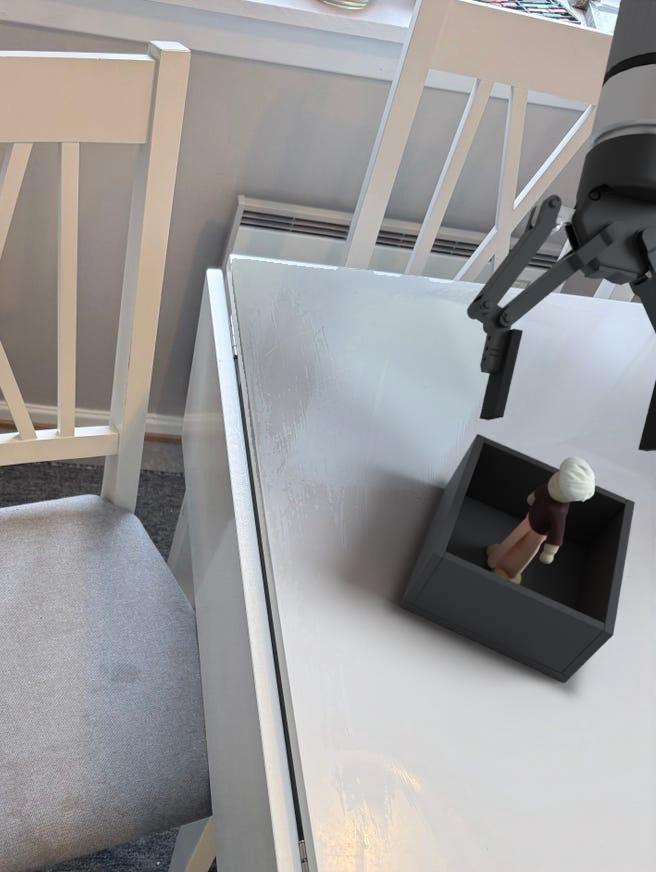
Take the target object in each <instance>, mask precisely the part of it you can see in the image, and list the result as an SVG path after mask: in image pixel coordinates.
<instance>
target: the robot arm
mask: <svg viewBox="0 0 656 872" xmlns="http://www.w3.org/2000/svg"><path fill="white" fill-rule="evenodd" d="M611 39H612V40H611V44H610V49H609V53H608V57H607V62H606V66H605V71H604V75H603V81H602V85H601V89H600V93H599V97H598V100H597V106H596V110H595V115H594V119H593V123H592V126H591V132H590V136H589V140H588V143H589V148H590V150H589V151H587V153H586V155H585V157H584V160H583V165H582V170H581V173H580V179H579V182H578V187H577V191H576V195H575V205H574V207H570V206H567V205H564V204H562V198H561V196H559V195H557V194H552V195H550V196H548V197H547V198H545V199H544V200H542V201H541V202H539V203H538V204H536V205H535V206H534V207H533V208H532V209H531V211H530V213H529V217H528V220H527V223H526V226H525V229H524V231H523V234H522V235H521V236H520V237H519V239H518V240H517V242H515V244H514V246H513V247H512V249H511V250H510V251H509V252H508V253H507V255H506V256H505V258H504V259H503V260H502V261H501V263H500V264H499V265H498V267H497V268H496V269H495V271H494V272H493V273H492V275H491V276H490V278H489V279H488V280H487V282H486V283H485V284H484V286H483V287H482V288H481V290H479V292H478V294H476V296H475V298H474V299H473V300H472V301H471V303H470V304H469V306H468V307H467V309H466V313H467V316H468V318H469V319H471V320H476V321H478V322H479V323H481V324H482V330H483V332H484V333H485V334H486V337H485V341H484V345H483V350H482V355H481V359H480V363H479V367H480V372H481V373H484V374H488V379H487V384H486V386H485V387H486V388H485V392H484V397H483V401H482V405H481V409H480V414H479V419H481V420H485V421H491V420H495V419H500V418H504V416H505V412H506V406H507V402H508V398H509V393H510V389H511V385H512V380H513V376H514V372H515V369H516V368H515V366H516V364H517V363H516V362H517V358H518V354H519V349H520V345H521V341H522V336H523V332H524V330H522V329H517V328H512V326H514V324H515V323H517V322H518V321H519V320H520V319H521V318H522V317H524V316H525V315H526V314H528V313H529V312H530V311H531V310H532V309H534V308H535V307H536V306H537V305H539V303H540V302H542V301H544V299H545V298H547V297H548V296H550V294H551V293H553V292H554V291H555V290H557V289H558V288H559V287H560V286H561V285H562V284H563V283H565V282H566V281H567V280H569V278H571V276H573V275H574V274H575V273H577V272H578V271H580V272H582V274H584V278H587V279H591V280H599V279H600V280H601V279H604V280H605V281H607V282H609V283H611V284H614V285H618V286H622V285H625V284H628V285H629V288H630V289H631V291H632V293H633V295H635V296H637V297H638V298H639V300H640V302H641V304H642V307H643V308H644V311H645V313H646V315H647V317H648V320H649V323H650V325H651V326H652V329H653V331H654V333H655V334H656V0H620V1H619V5H618V11H617V16H616V20H615V25H614V30H613V33H612V38H611ZM562 227H564V232H565V235H566V238H567V240H568V243H569V246H570V248H571V249H570V250H569V251H567V252H566V253H565V254H564V255H563V256H561V257H560V258H559V259H558V260H556V261H555V263H553V264H552V265H551V266H550V268H549V269H547V270H546V271H544V272H543V273H542V274H541V275H540V276H539V277H537V278H536V279H535V280H534V281H533V282H532V283H531V284H529V285H528V286H527V287H525V288H524V289H523V290H522V291H521V292H519V293H518V294H517V295H516V296H515V297H514V298H512V299H511V300H510V301H509V302H507V304H505V305H504V306H503V307H502V306H500V305H498V304H499V303H500V302H501V301H502V299H503V298H504V297H505V295H506V293H508V291H510V289H511V287H512V286H513V285H514V283H515V282H516V280H518V278H519V277H520V276H521V274H522V273H523V271H524V270H525V269H526V267H527V266H528V265H529V264H530V262H531V261H532V259H533V258H534V257H535V255H536V254H537V253H538V252H539V250H540V249H541V248H542V247H543V245H544V244H545V242H546V241H547V240H548V238H549V236H551V235H553V234H555V233H556V232H558V231H559V230H561V228H562ZM649 272H650V275H651V276H650V277H649V276H647V274H648V273H649ZM637 450H638V451H643V452H655V451H656V379H655V381H654V385H653V388H652V393H651V397H650V400H649V405H648V409H647V413H646V417H645V420H644V425H643V429H642V432H641V437H640V441H639V444H638V448H637Z"/></svg>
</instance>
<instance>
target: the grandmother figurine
mask: <svg viewBox="0 0 656 872" xmlns="http://www.w3.org/2000/svg"><path fill="white" fill-rule="evenodd" d="M559 469H560V470H559V471H558V472H556V473H555V474H554V475H553V476H552V477H551V479H550V481H549V483H548V484H544V485H542V486H539V487H537V488H536V490H535V491H534V492H533V493H532V494H531V495H529V496H528V498H527V502H528V503H529V504H530V505H532V506H531V508H530V510H529V512H528V514H527V516H526V519H524V520H523V521H522V522H521V524H520V525H519V526H518V527H517V528H516V529H515V530H514V531H513V532H512V533H511V534H510V535H509V536H508V537H507V538H506V539H505V540H504V541H503V542H502V543H501V544H500V545H499V544H493V545H491V546H489V547H488V548H487V550H486V554H487V556H488V559H487V562H488V565H489V567H490V568H492V569H491V571H490V572H492V573H494V574H496V575H499V576H501V577H503V578H505V579H507V580H510V581H512V582H514V583H516V584H520V582H521V575H520V574H521V572H522V571H523V570H524V569H525V567H526V566H527V565H528V564H529V562H530V561H531V560H532V558H533V557H534V556H535V554H536V553H537V551H538V549H539V547H540V544H541V543H542V542H543V541H544V540H545V539H546V542H545V546H544V551H543V552H542V553H541V555H540V557H539V559H540V561H541V562H542V563H544V564H549V563H551V562H552V560H553V556H554V554H555V553H556V552H557V550H558V548H559V546H561V545H562V543H563V535H564V529H565V518H566V516H567V513H568V509H569V502H572V501H583V502H584V501H585V500H586V499H589V498H591V497H592V496H593V494H594V491H595V485H596V482H595V481H596V478H595V474H594V472H593V469H592V467H591V466H590V465H589V464H588V463H587V462H586V461H585V460H584V459H582V458H580V457H577V456H570V457H567V458H565V459H564V460H563V461H561V463H560V466H559Z"/></svg>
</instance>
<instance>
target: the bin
mask: <svg viewBox="0 0 656 872" xmlns="http://www.w3.org/2000/svg"><path fill="white" fill-rule="evenodd" d="M559 470H560V468H557V467H555V466H553V465H550V464H548V463H546V462H544V461H541V460H539V459H537V458H534V457H532V456H530V455H528V454H525V453H523V452H520V451H518V450H516V449H513V448H511V447H510V446H506V445H504V444H502V443H500V442H498V441H496V440H493V439H491V438H489V437H486V436H484V435H482V434H480V433H477V434H476V435H475V437H474V439H473V440H472V442H471V443H470V445H469V446H468V449H467V450H466V452H465V454H464V455H463V457H462V459H461V460H460V462H459V464H458V465H457V467H456V469H455V470H454V473H453V474H452V475H451V477H450V479H449V481H448V482H447V484H446V486H445V487H444V490H443V492H442V495H441V497H440V500H439V503H438V505H437V508H436V511H435V513H434V516H433V519H432V521H431V523H430V526H429V528H428V532H427V534H426V537H425V539H424V542H423V543H422V547H421V549H420V552H419V556H418V557H417V560H416V563H415V565H414V568H413V570H412V573H411V576H410V578H409V581H408V583H407V586H406V589H405V591H404V594H403V597H402V599H401V602H400V603H399V607H400V608H403V609H405V610H407V611H409V612H412V613H413V614H416V615H418V616H419V617H420V616H421V617H422V618H425V619H426V620H429V621H431V622H433V623H436V624H437V625H439V626H441V627H444V628H446V629H448V630H450V631H453V632H454V633H457V634H459V635H461V636H463V637H465V638H468V639H470V640H472V641H474V642H476V643H478V644H481V645H483V646H485V647H487V648H489V649H491V650H493V651H495V652H498V653H500V654H502V655H504V656H506V657H509V658H510V659H512V660H514V661H517V662H519V663H522V664H524V665H526V666H528V667H529V668H532V669H535V670H536V671H539V672H541V673H543V674H545V675H547V676H549V677H552V678H554V679H556V680H558V681H560V682H563V683H567V682H568V681H569V680H570V679H571V678H572V677H573V676H574V675H575V674H576V673H577V672H578V671H579V670H580V669H581V668H582V667H583V666H584V665H585V664H586V663H587V662H588V661H589V660H590V659H591V658H592V657H593V656H594V655H595V654H596V653H597V652H598V651H599V650H600V649H601V648H602V647H603V646H604V645H606V643H607V642H608V641H609V640H610V639H611V638H612V637H613V636H614V633H615V628H616V622H617V621H616V620H617V616H618V609H619V603H620V602H619V601H620V596H621V591H622V584H623V577H624V572H625V566H626V559H627V553H628V546H629V540H630V534H631V529H632V521H633V516H634V509H635V504H636V502H635V501H633V500H631V499H628V498H626V497H624V496H622V495H620V494H618V493H615V492H612V491H610V490H608V489H605V488H603V487H601V486H599V485H596V484H595V491H594V494H593V496H592V497H591V498H589V499H586V500H585V501H584V502H583V501H572V502H569V509H568V513H567V516H566V518H565V529H564V535H563V543H562V545H561V546H559V548H558V550H557V552H556V553H555V554H554V556H553V560H552V562H551V563H549V564H544V563H542V562H541V561H540V559H539V557H540V555H541V553H542V552H543V551H544V546H545V542H546V539H545V540H544V541H543V542H542V543H541V544H540V547H539V549H538V551H537V553H536V554H535V556H534V557H533V558H532V560H531V561H530V562H529V564H528V565H527V566H526V567H525V569H524V570H523V571H522V572H521V574H520V575H521V582H520V584H516V583H514V582H512V581H510V580H507V579H505V578H503V577H501V576H499V575H496V574H494V573H492V572H490V571H491V569H492V568H490V567H489V565H488V562H487V559H488V556H487V554H486V550H487V548H488V547H489V546H491V545H493V544H499V545H500V544H501V543H502V542H503V541H504V540H505V539H506V538H507V537H508V536H509V535H510V534H511V533H512V532H513V531H514V530H515V529H516V528H517V527H518V526H519V525H520V524H521V522H522V521H523V520H524V519H526V516H527V514H528V512H529V510H530V508H531V506H532V505H530V504H529V503H528V502H527V498H528V496H529V495H531V494H532V493H533V492H534V491H535V490H536V488H537V487H539V486H542V485H544V484H548V483H549V481H550V479H551V477H552V476H553V475H554V474H555V473H556V472H558V471H559Z"/></svg>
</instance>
